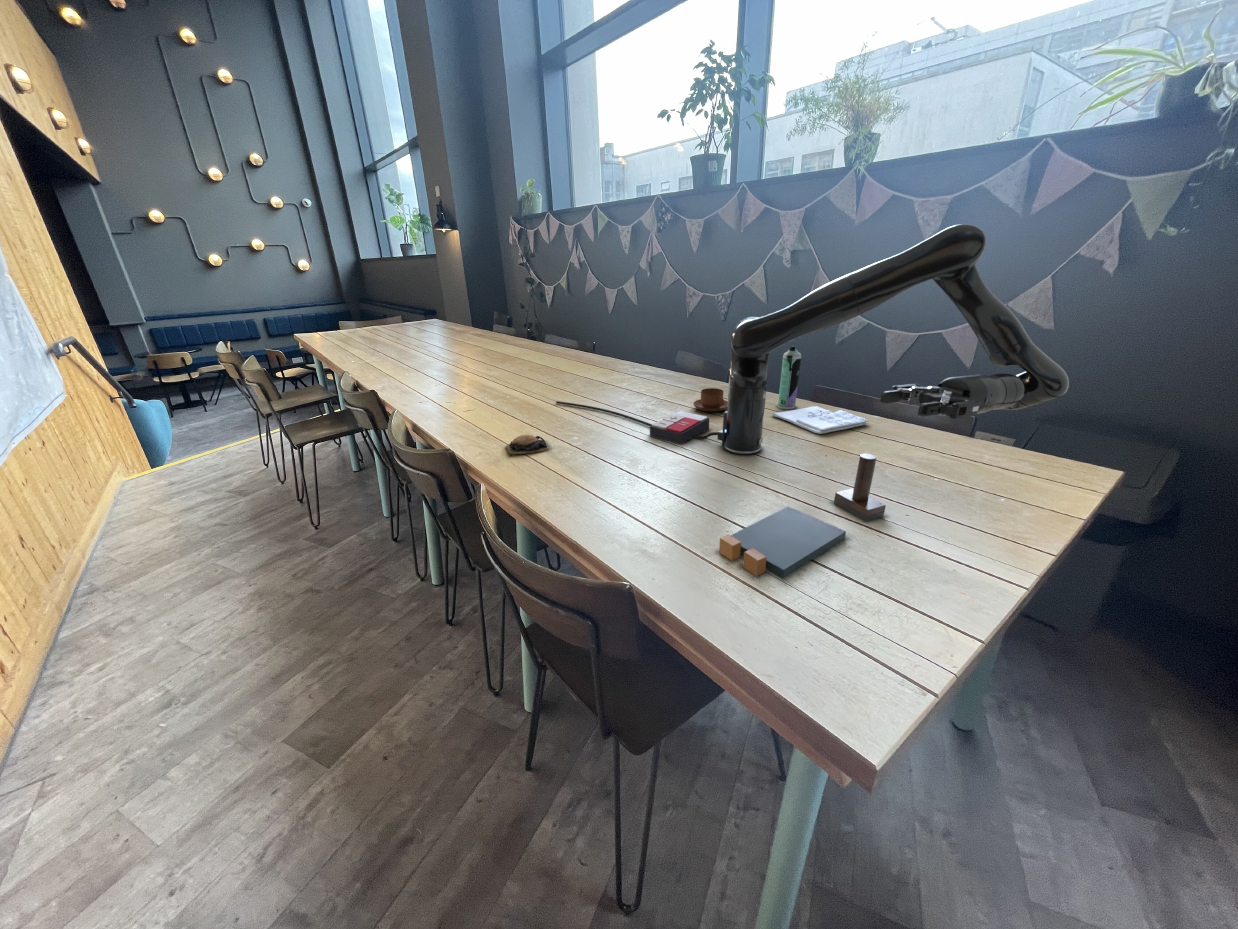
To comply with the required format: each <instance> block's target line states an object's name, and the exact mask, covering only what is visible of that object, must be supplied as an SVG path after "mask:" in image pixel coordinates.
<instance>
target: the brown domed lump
mask: <svg viewBox="0 0 1238 929" xmlns="http://www.w3.org/2000/svg"><path fill="white" fill-rule="evenodd" d="M547 445H548V444H547V442H546V440H545V438H543V437H541V436H539V435H536V436H534V435H532V434H521V435H518V436H517V437H515V438H513V440H512V441H510V443H507V444H506V449H507V452H508V455H509V456H511V455H512V456H513V455H523V454H532V453H539V452H545V451H549V447H548V446H547Z"/></svg>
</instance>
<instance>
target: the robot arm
mask: <svg viewBox="0 0 1238 929" xmlns="http://www.w3.org/2000/svg"><path fill="white" fill-rule="evenodd" d="M986 245H987V237H986V234H985V232H984V230H983V229H982V228H981V227H979V226H977V225H973V224H968V223H960V224H955V225H952V226H949V227H946V228H945V229H943V230H940V231H939V232H937V233H936V234H934V235H932V236H931V237H929V238H927V239H925V240H922V241H921V242H919V243H917V244H916V245H914V246H912V247H910V248H908V249H906V250H904V251H902V252H900V253H898V254H895V255H893V256H891V257H888V258H885V259H883V260H880V261H877V262H874V263H872V264H870V265H867V266H865V267H862V268H860V269H858V270H854V271H853V272H850V273H847V274H845V275H843V276H840V277H838V278H836V279H834V280H832V281H830V282H827V283H825V284H823V285H821V286H820V287H818V288H816V289H814V290H812V291H810V292H809V293H808V294H806V295H804V296H803V297H801V298H800V299H798V300H797V301H795V302H794V303H792V304H790V305H789V306H786V307H785V308H782V309H780V310H777V311H775V312H772V313H769V314H767V315H763V316H760V317H759V316H747V317H744V318H742V319H740V320H739V321H738V322H737V323H736V325H735V326H734V328H733V330H732V334H731V337H730V338H731V339H730V340H731V341H730V343H731V344H730V361H729V362H730V363H729V373H728V390H727V401H728V404H727V409H726V411H724V412H723V418H722V429H720V430H718V431H712V432H708V433H707V434H704V435H695V436H693V437H692V438H691V439H694V440H705V439H707V438H709V437H711V436H717V440H718V441H721V447H723V448H724V449H725V450H726V451H727V452H729V453H732V454H737V455H743V456H744V455H747V456H748V455H754V454H757V453H760V452H761V450H762V443H763V440H764V437H763V429H764V428H763V427H764V419H765V418H764V417H765V406H766V396H767V385H768V378H769V360H770V353H771V352H773V351H774V350H777V349H778V348H780V347H782V346H784V345H787V344H788V343H790V342H792V341H794V340H797V339H798V338H801V337H804V336H807V335H810V334H814V333H817V332H819V331H822V330H825V329H828V328H831V327H833V326H836V325H838V324H842V323H845V322H847V321H850V320H851V319H854V318H857V317H859V316H861V315H863V314H865V313H868V312H869V311H872V310H873V309H876V308H877V307H878V306H880V305H882V304H884V303H885V302H888V301H889V300H891V299H892V298H894V297H896V296H898V295H899V294H901V293H902V292H904V291H906V290H908V289H911V288H912V287H915V286H917V285H920V284H922V283H925V282H928V281H931V280H932V281H933V282H934V283H935V284H936V285H937V286H938V287H939V288H940V289H941V290H942V291H943V293H944V294H945V295H946V296H947V297H948V298H949V299H950V301H951V302H952V303H953V304H954V306H955V307H956V308H957V310H958V311H959V312H960V314H961V315H962V317H963V318H964V319H965V321H966V323H967V324H968V326H969V328H971V331H972V332H973V334H974V335H975V337H976V339H977V340H978V342H979V344H980V345H981V347H982V349H983V351H984V352H985V354H986V356H987V357H988V359H989V361H990V362H991V363H992V365H993V366H994V367H996V368H1006V367H1010V366H1013V367H1014V366H1016V367H1018V368H1020V369H1022V370H1023V372H1021V373H1018V374H1013V373H1009V372H1008V373H1007V372H1001V373H991V374H971V375H962V376H961V375H960V376H951V377H947V378H945V379H943V380H941V381H940V382H939V383H938V384H937V385H936V386H935V385H929V386H921V384H919V383H907V384H898V385H897V384H896V385H892V386H891V390H886V391H882V392H881V397H880V403H882V404H892V403H893V404H894V403H907V404H908V405H909V406H915V407H916V406H917V407H918V411H917V415H918V416H919V417H930V416H939V417H947V418H950V419H952V420H955V419H961V418H967V417H973V416H977V415H979V414H980V415H981V414H985V413H988V412H992V411H1000V410H1006V411H1018V410H1024V409H1027V408H1031V407H1034V406H1037V405H1041V404H1043V403H1047V402H1050V401H1053V400H1057V399H1059V398H1061V397H1063V396H1064V395H1066V394H1067V392H1068V390H1069V387H1070V379H1069V376H1068V374H1067V372H1066V371H1065V369H1064V368H1062V366H1061V365H1059V363H1057V362H1056V361H1054V360H1053V359H1052V358H1051V357H1050V356H1048V355H1047V354H1046V353H1045V352H1044V351H1043V350H1042V349H1040V348H1039V347H1038V346H1037V345H1036V344H1035V343H1034V342H1033V341H1032V339H1031V338H1030V336H1029V334H1028V333H1027V331H1026V329H1025V327H1024V326H1023V325H1022V322H1021V321H1020V320H1019V318H1018V317H1017V316H1016V314H1015V313H1014V312H1013V311H1012V310H1011V309H1010V308H1009V307H1008V306H1007V305H1006V304H1005V303H1004V302H1002V301H1001V299H999V297H997V296H996V295H995V294H994V293H993V292H992V291H991V290H990V289H989V287H988V285H987V284H985V281H984V280H983V279H982V276H981V274H980V272H979V269H978V267H977V265H976V264H977V262H978V261H979V259H980V258H981V257H982V255H983V253H984V251H985V248H986V247H987V246H986ZM915 398H918V399H917V401H916V400H915ZM555 403H556V404H557V405H566V406H571V407H578V408H584V409H589V410H594V411H601V412H604V413H608V414H613V415H615V416H619V417H621V418H622V417H623V418H625V419H629V420H631V421H633V422H637V423H640V424H642V425H645V426H647V427H650V426H652V424H653V423H650V422H648V421H644V420H641V419H638V418H636V417H633V416H630V415H627V414H624V413H620V412H617V411H613V410H609V409H605V408H602V407H596V406H592V405H586V404H579V403H573V402H568V401H567V402H566V401H558V400H556V401H555Z"/></svg>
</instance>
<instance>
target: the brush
mask: <svg viewBox="0 0 1238 929" xmlns="http://www.w3.org/2000/svg"><path fill="white" fill-rule="evenodd" d="M877 458H878V457H877V456H876V455H875V454H872V453H861V454H859V459H858V465H857V470H856V475H855V480H854V486H853V487H852V488H848V489H844V490H841V491H836V492H835V494H834V499H833V504H834V505H836V506H838V507H839V508H841V509H843V510H844V511H846V512H848V513H850V514H852V515H854V516H855V517H857V518H859V519H861V520H862V521H864V522H869V521H872V520H876V519H879V518H883V517H884V515H885V512H886V511H885V510H886V506H887V505H886V504H885V503H882V502H880V501H879V500H876V499H875V498H872V497H870V492H871V487H872V483H873V478H874V474H875V468H876V464H877Z"/></svg>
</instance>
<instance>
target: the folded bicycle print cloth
mask: <svg viewBox="0 0 1238 929" xmlns="http://www.w3.org/2000/svg"><path fill="white" fill-rule="evenodd" d="M772 416H773V417H775V418H778V419H781V420H784V421H786V422H789V423H791V424H794V425H795V426H798V427H800V428H802V429H804V430H807V431H810V432H812V433H814V434H818V435H819V434H820V435H822V434H826V433H831V432H837V431H844V430H847V429H852V428H856V427H860V426H862V427H863V426H866V425H867V423H868V422H869V420H868V419H867V418H864V417H861V416H858V415H855V414H853V413H850V412H847V411H844V410H842V409H838V410H836V411H831V410H828V409H825V408H822V407H820V406H817V405H815V406H814V405H813V406H808V407H804V408H797V409H790V410H786V411H785V410H784V411H777V412H773V414H772Z"/></svg>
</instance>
